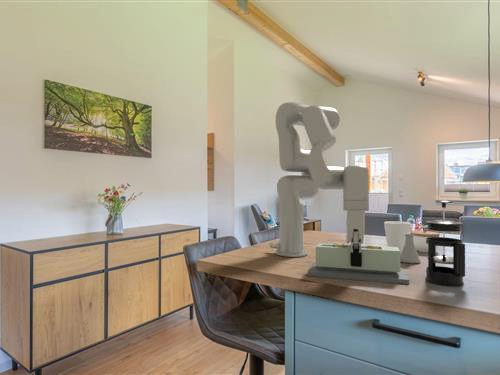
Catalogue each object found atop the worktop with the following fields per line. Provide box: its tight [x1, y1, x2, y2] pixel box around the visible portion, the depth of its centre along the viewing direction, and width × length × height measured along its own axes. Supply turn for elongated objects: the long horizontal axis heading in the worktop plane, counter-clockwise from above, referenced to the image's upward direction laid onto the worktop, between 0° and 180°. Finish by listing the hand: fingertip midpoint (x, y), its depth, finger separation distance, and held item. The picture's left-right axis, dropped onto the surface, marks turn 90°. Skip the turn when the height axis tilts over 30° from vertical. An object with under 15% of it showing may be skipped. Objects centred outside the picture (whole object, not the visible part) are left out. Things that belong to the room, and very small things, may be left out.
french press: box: [425, 200, 466, 287], centre depth 93 cm, size 12×9×23 cm
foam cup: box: [383, 220, 412, 256], centre depth 129 cm, size 10×9×13 cm
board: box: [307, 243, 410, 285], centre depth 102 cm, size 28×13×9 cm, turn 72°
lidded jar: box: [410, 228, 441, 253], centre depth 139 cm, size 11×11×9 cm
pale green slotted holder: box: [315, 242, 401, 272], centre depth 102 cm, size 24×7×6 cm, turn 72°
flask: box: [400, 233, 421, 264], centre depth 119 cm, size 7×7×10 cm
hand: (356, 263), depth 102 cm, fingers closed on pale green slotted holder, 7 cm apart
